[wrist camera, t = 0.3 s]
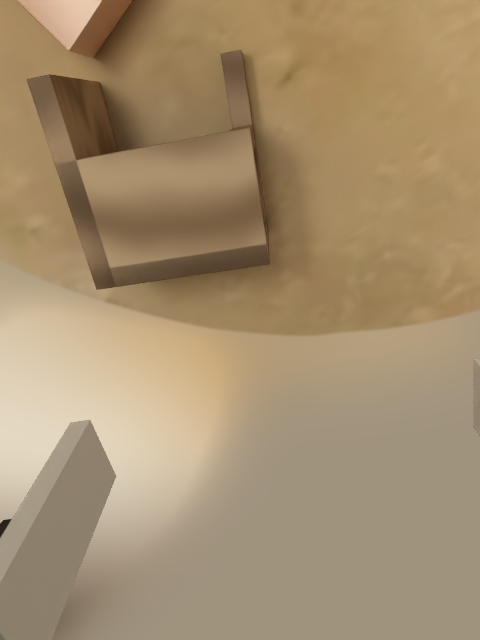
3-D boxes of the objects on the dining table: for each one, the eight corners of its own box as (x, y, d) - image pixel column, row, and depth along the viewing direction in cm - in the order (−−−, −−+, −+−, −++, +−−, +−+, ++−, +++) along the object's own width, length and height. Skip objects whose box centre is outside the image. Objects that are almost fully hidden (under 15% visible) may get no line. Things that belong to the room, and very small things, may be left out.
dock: (81, 85, 35) (26, 79, 27) (242, 52, 33) (235, 35, 25) (129, 253, 41) (96, 289, 33) (268, 232, 39) (269, 264, 31)
